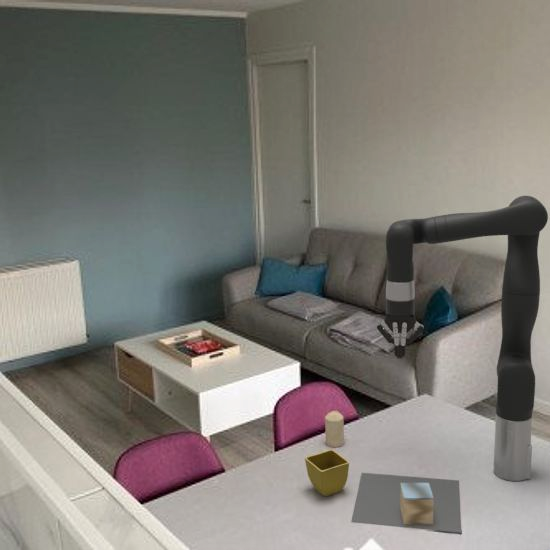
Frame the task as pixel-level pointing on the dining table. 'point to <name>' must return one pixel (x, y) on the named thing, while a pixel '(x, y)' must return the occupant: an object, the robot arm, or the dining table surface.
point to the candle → (334, 429)
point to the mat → (386, 502)
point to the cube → (416, 503)
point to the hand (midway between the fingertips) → (400, 357)
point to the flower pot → (327, 472)
